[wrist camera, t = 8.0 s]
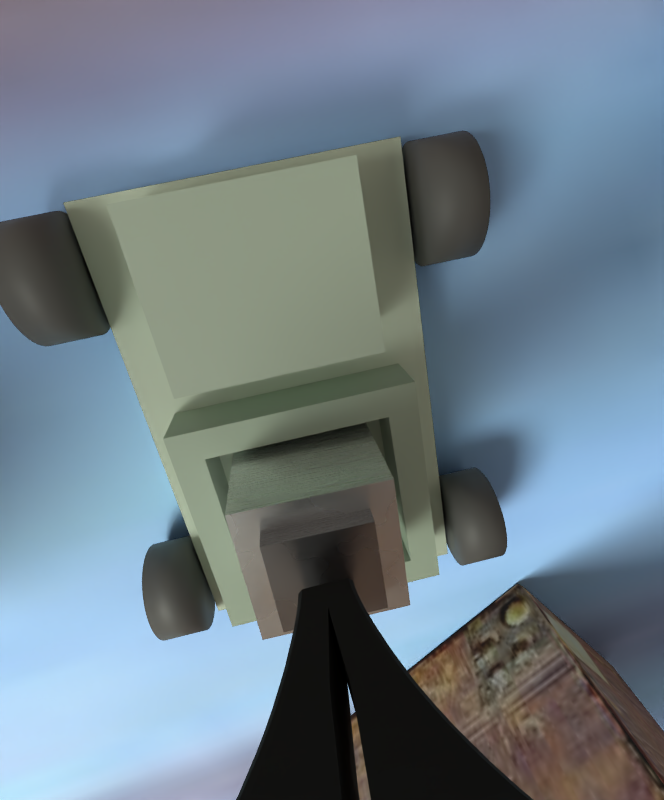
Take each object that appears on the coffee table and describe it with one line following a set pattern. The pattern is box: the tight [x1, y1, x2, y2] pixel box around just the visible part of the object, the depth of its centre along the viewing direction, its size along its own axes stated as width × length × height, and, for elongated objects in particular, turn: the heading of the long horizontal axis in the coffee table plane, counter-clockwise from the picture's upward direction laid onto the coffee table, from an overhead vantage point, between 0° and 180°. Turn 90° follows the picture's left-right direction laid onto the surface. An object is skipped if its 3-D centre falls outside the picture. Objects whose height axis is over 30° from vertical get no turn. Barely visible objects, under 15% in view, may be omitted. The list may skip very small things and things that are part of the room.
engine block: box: [225, 422, 410, 640], centre depth 15 cm, size 4×4×6 cm
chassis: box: [0, 131, 507, 640], centre depth 16 cm, size 13×16×4 cm
